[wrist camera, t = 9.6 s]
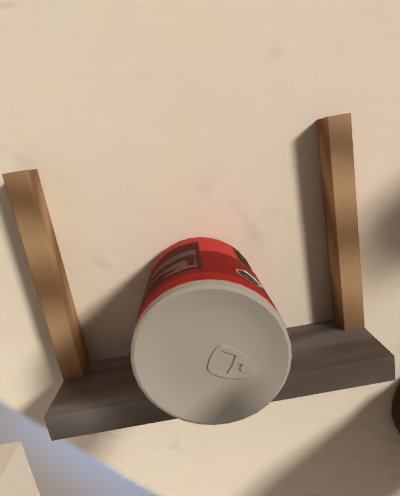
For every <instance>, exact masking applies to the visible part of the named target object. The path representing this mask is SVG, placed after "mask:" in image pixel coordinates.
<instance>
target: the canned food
mask: <svg viewBox="0 0 400 496" xmlns="http://www.w3.org/2000/svg"><path fill="white" fill-rule="evenodd" d="M291 359H292V352H291V342H290V339H289V336H288V332H287V329H286V326H285V324H284V322H283V320H282V318H281V317H280V314H279V313H278V311H277V309H276V308H275V306H274V304H273V302H272V301H271V299H270V298H269V296H268V294H267V293H266V291H265V290H264V288H263V286H262V285H261V283H260V282H259V280H258V278H257V277H256V275H255V274H254V272H253V270H252V269H251V267H250V266H249V264H248V262H247V261H246V259H245V258H244V257H243V256H242V255H241V254H240V252H238V251H237V250H236V249H235V248H233V247H232V246H231V245H228V244H226V243H224V242H222V241H220V240H216V239H212V238H204V237H198V238H189V239H186V240H182V241H179V242H177V243H176V244H174V245H172V246H170V247H169V248H168V249H166V250H165V251H164V252H163V253H162V254H161V255H160V256H159V258H158V259H157V260H156V262H155V264H154V266H153V268H152V270H151V274H150V277H149V280H148V283H147V287H146V290H145V293H144V297H143V300H142V303H141V306H140V310H139V313H138V316H137V320H136V324H135V328H134V332H133V336H132V340H131V364H132V369H133V374H134V376H135V378H136V380H137V383H138V385H139V387H140V388H141V390H142V391H143V392H144V394H145V395H146V397H147V398H148V399H149V400H150V401H151V402H153V403H154V404H155V405H156V406H157V407H158V408H160V409H161V410H163V411H164V412H166V413H167V414H169V415H171V416H173V417H176V418H178V419H181V420H183V421H187V422H192V423H196V424H207V425H217V424H226V423H231V422H235V421H238V420H242V419H244V418H247V417H249V416H251V415H253V414H255V413H257V412H258V411H260V410H261V409H262V408H264V407H265V406H267V405H268V404H269V403H270V402H271V401H272V400H273V399H274V398H275V397H276V396H277V395H278V393H279V392H280V390H281V388H282V387H283V385H284V384H285V382H286V379H287V376H288V374H289V371H290V366H291Z"/></svg>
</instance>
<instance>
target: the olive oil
mask: <svg viewBox="0 0 400 496" xmlns="http://www.w3.org/2000/svg"><path fill="white" fill-rule="evenodd" d="M392 416H393V420H394V423H395V426H396V428H397V430H398V431H399V433H400V385H399V387H398V389H397V391H396V393H395V396H394V399H393V404H392Z"/></svg>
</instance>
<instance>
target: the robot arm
mask: <svg viewBox="0 0 400 496" xmlns="http://www.w3.org/2000/svg"><path fill="white" fill-rule="evenodd" d="M0 496H40V494H39V491H38V488H37V485H36V482H35V480H34V477H33V474H32V471H31V469H30V466H29V463H28V460H27V458H26V455H25V452H24V449H23V446H22V444H21V441H18V442H13V443H8V444H2V445H0Z"/></svg>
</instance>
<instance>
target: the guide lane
mask: <svg viewBox="0 0 400 496" xmlns="http://www.w3.org/2000/svg"><path fill="white" fill-rule="evenodd" d="M317 125H318V137H319V149H320V160H321V172H322V183H323V195H324V207H325V218H326V230H327V241H328V253H329V265H330V276H331V288H332V299H333V311H334V320H331V321H325V322H319V323H314V324H308V325H302V326H297V327H291V328H286V329H287V332H288V336H289V339H290V342H291V352H292V359H291V366H290V371H289V374H288V376H287V379H286V382H285V384H284V385H283V387H282V388H281V390H280V392H279V393H278V395H277V396H276V397H275V398H274V399H273V400H272V401H271V402H273V401H279V400H285V399H290V398H296V397H302V396H307V395H313V394H319V393H324V392H330V391H336V390H341V389H347V388H353V387H358V386H364V385H369V384H375V383H381V382H386V381H392V380H395V362H394V355H393V354H392V353H391V352H390V351H389V350H388V349H386V348H385V347H384V346H383V345H382V344H381V343H380V342H379V341H378V340H377V339H376V338H375V337H374V336H373V335H372V334H371V333H369V332H368V331H367V330H366V329H365V328H364V312H363V297H362V281H361V266H360V250H359V235H358V219H357V203H356V188H355V172H354V157H353V141H352V126H351V113H347V114H341V115H336V116H330V117H326V118H322V119H319V120H317ZM2 176H3V179H4V183H5V186H6V189H7V193H8V196H9V199H10V203H11V206H12V209H13V213H14V216H15V219H16V223H17V226H18V229H19V233H20V236H21V239H22V243H23V246H24V249H25V253H26V256H27V259H28V263H29V266H30V269H31V273H32V276H33V279H34V283H35V286H36V289H37V293H38V296H39V299H40V303H41V306H42V309H43V313H44V316H45V319H46V323H47V326H48V329H49V333H50V336H51V339H52V343H53V346H54V349H55V353H56V356H57V359H58V363H59V366H60V369H61V373H62V376H63V379H64V382H63V384H62V386H61V387H60V389H59V391H58V393H57V395H56V397H55V399H54V400H53V402H52V404H51V406H50V408H49V410H48V412H47V413H46V415H45V417H44V418H45V422H46V425H47V428H48V431H49V434H50V437H51V440H52V441H53V440H58V439H64V438H70V437H75V436H81V435H87V434H92V433H98V432H104V431H109V430H115V429H121V428H126V427H132V426H137V425H143V424H149V423H154V422H160V421H166V420H171V419H177V418H176V417H173V416H171V415H169V414H167V413H166V412H164V411H163V410H161V409H160V408H158V407H157V406H156V405H155V404H154V403H153V402H151V401H150V400H149V399H148V398H147V397H146V395H145V394H144V392H143V391H142V390H141V388H140V387H139V385H138V383H137V380H136V378H135V376H134V374H133V369H132V364H131V356H127V357H121V358H115V359H110V360H104V361H98V362H93V363H90V360H89V357H88V353H87V349H86V346H85V342H84V339H83V335H82V331H81V328H80V324H79V320H78V317H77V313H76V310H75V306H74V302H73V299H72V295H71V291H70V288H69V284H68V281H67V277H66V273H65V270H64V266H63V262H62V259H61V255H60V252H59V248H58V244H57V241H56V237H55V233H54V230H53V226H52V223H51V219H50V215H49V212H48V208H47V204H46V201H45V197H44V194H43V190H42V186H41V183H40V179H39V175H38V172H37V169H35V170H24V171H18V172H12V173H7V174H2Z"/></svg>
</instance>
